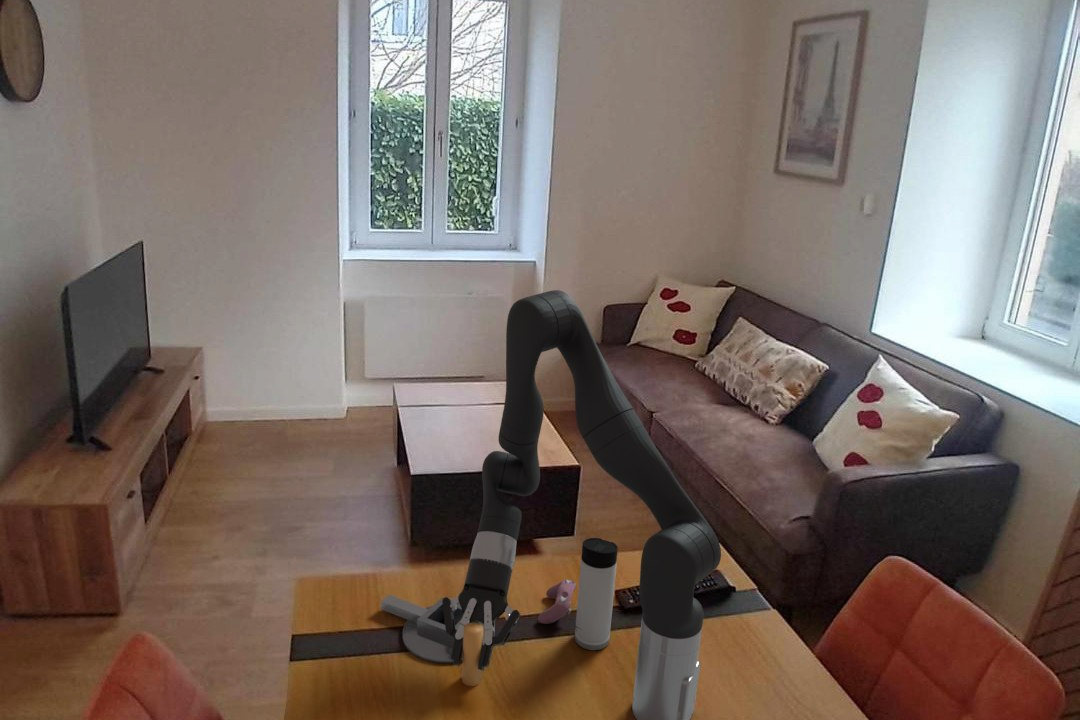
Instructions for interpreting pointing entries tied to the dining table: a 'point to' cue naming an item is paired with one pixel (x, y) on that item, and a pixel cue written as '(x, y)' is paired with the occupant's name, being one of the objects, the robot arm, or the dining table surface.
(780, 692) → the dining table surface
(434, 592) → the dining table surface
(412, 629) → the grey handled frame
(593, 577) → the travel mug
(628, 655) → the dining table surface
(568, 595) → the video game controller
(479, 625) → the wedge pin
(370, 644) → the dining table surface
